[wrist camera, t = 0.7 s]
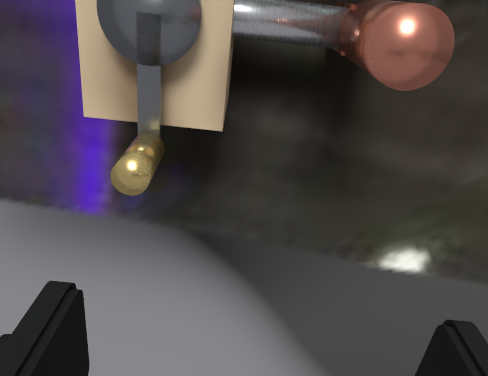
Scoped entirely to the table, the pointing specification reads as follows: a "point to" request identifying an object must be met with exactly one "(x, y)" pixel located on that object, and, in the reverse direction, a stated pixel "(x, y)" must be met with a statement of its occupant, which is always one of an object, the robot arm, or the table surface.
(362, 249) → the table surface
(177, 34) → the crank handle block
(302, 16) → the copper head hammer
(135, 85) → the beige block
